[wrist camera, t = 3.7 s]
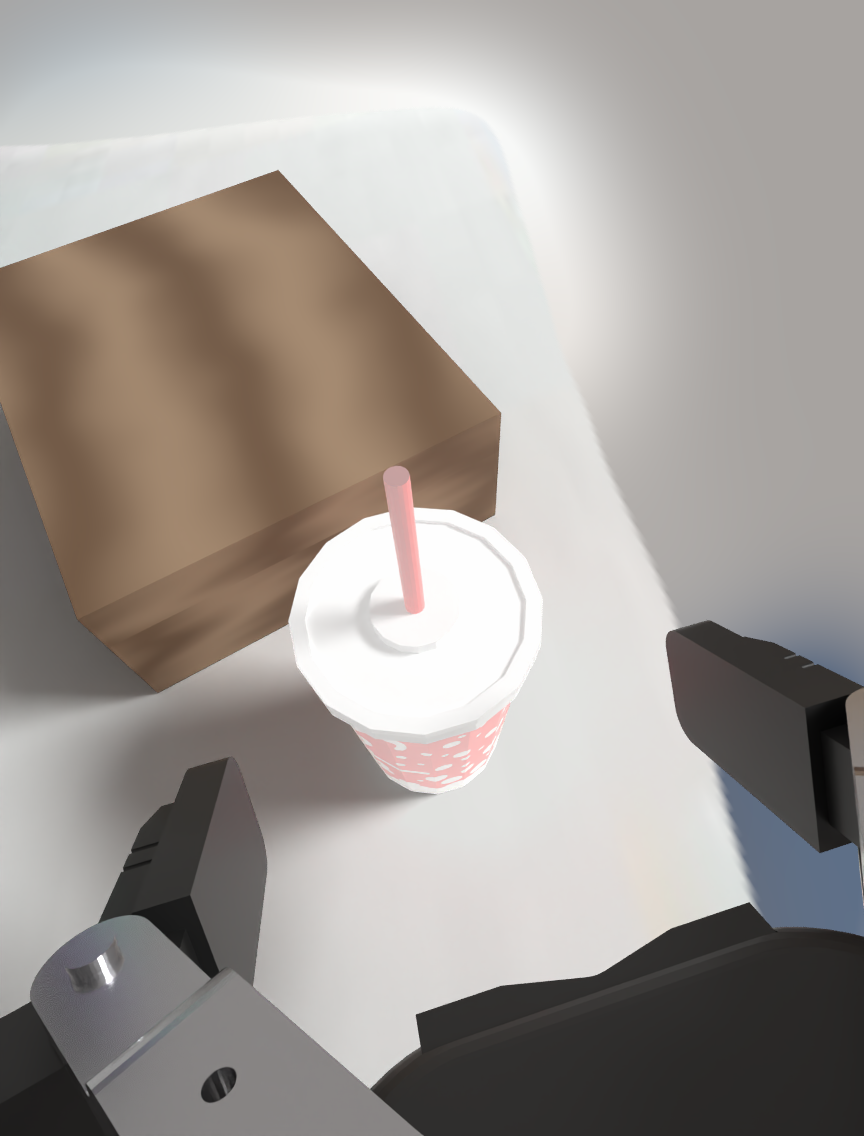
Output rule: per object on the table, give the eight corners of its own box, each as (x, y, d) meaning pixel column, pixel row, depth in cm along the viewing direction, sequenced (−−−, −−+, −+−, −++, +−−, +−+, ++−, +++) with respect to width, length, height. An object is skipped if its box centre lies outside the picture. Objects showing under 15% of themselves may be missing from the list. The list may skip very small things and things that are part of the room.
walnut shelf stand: (157, 693, 25) (77, 619, 20) (35, 388, 34) (-42, 283, 29) (495, 514, 28) (501, 412, 23) (304, 280, 37) (278, 169, 32)
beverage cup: (320, 693, 25) (180, 426, 13) (467, 622, 26) (466, 317, 14) (391, 852, 22) (296, 702, 10) (553, 764, 23) (646, 532, 11)
